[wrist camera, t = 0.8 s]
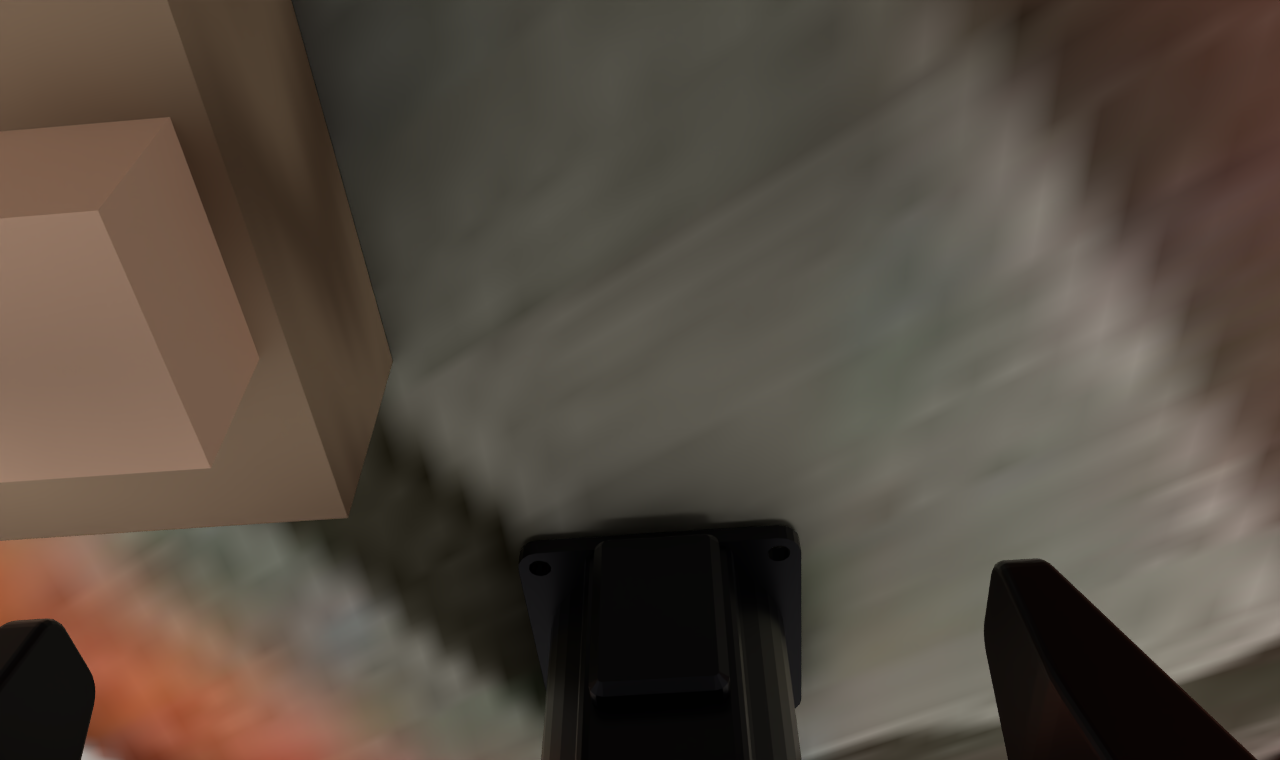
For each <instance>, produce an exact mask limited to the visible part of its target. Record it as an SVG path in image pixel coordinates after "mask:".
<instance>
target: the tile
mask: <svg viewBox="0 0 1280 760" xmlns="http://www.w3.org/2000/svg"><path fill="white" fill-rule="evenodd" d="M259 359H260V358H259V355H258V353H257V350H256V347H255V345H254V342H253V339H252V337H251V334H250V331H249V328H248V326H247V323H246V320H245V318H244V315H243V312H242V310H241V307H240V304H239V302H238V299H237V296H236V293H235V291H234V288H233V285H232V283H231V280H230V277H229V275H228V272H227V269H226V267H225V264H224V261H223V259H222V256H221V253H220V250H219V248H218V245H217V242H216V240H215V237H214V234H213V232H212V229H211V226H210V224H209V221H208V218H207V215H206V213H205V210H204V207H203V205H202V202H201V199H200V197H199V194H198V191H197V189H196V186H195V183H194V180H193V178H192V175H191V172H190V170H189V167H188V164H187V162H186V159H185V156H184V154H183V151H182V148H181V146H180V143H179V140H178V137H177V135H176V132H175V129H174V127H173V124H172V121H171V119H170V117H163V118H152V119H140V120H128V121H117V122H105V123H93V124H82V125H70V126H58V127H47V128H35V129H23V130H12V131H0V483H3V482H17V481H32V480H46V479H61V478H75V477H90V476H105V475H119V474H134V473H148V472H163V471H177V470H192V469H207V468H211V467H212V464H213V462H214V460H215V458H216V455H217V453H218V451H219V449H220V446H221V444H222V442H223V440H224V437H225V435H226V433H227V431H228V428H229V426H230V424H231V422H232V419H233V417H234V415H235V413H236V410H237V408H238V406H239V404H240V401H241V399H242V397H243V395H244V392H245V390H246V388H247V386H248V383H249V381H250V379H251V377H252V374H253V372H254V370H255V368H256V365H257V363H258V361H259Z"/></svg>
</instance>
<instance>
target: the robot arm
mask: <svg viewBox="0 0 1280 760" xmlns="http://www.w3.org/2000/svg"><path fill="white" fill-rule="evenodd" d="M775 546H784V547H781V548H772V547H775ZM535 561H545V562H546V563H537V562H535ZM519 574H520V578H521V583H522V587H523V591H524V596H525V600H526V605H527V609H528V613H529V618H530V622H531V627H532V631H533V635H534V640H535V644H536V649H537V653H538V657H539V662H540V666H541V671H542V675H543V679H544V684H545V688H546V704H545V717H544V730H543V743H542V756H541V760H801V752H800V745H799V737H798V730H797V722H796V714H795V708H796V707H797V706H798V705H799V704H800V702H801V549H800V542H799V537H798V534H797V533H796V532H795V531H794V530H793V529H792V528H789V527H787V526H779V525H774V526H759V527H743V528H728V529H712V530H697V531H681V532H665V533H650V534H634V535H619V536H603V537H587V538H572V539H556V540H541V541H534V542H530V543H528V544H527V545H525V546H524V547H523V548H522V550H521V551H520V559H519ZM984 641H985V649H986V655H987V659H988V664H989V669H990V674H991V679H992V684H993V688H994V693H995V698H996V703H997V708H998V713H999V717H1000V722H1001V727H1002V732H1003V737H1004V742H1005V747H1006V751H1007V756H1008V760H1257V759H1256V758H1255V757H1254V756H1253V755H1252V754H1251V753H1250V752H1248V751H1247V750H1246V749H1245V748H1244V747H1243V746H1242V745H1241V744H1240V743H1239V742H1238V741H1237V740H1236V739H1235V738H1234V737H1233V736H1232V735H1231V734H1229V733H1228V732H1227V731H1226V730H1225V729H1224V728H1223V727H1222V726H1221V725H1220V724H1219V723H1218V722H1217V721H1216V720H1215V719H1214V718H1213V717H1212V716H1210V715H1209V714H1208V713H1207V712H1206V711H1205V710H1204V709H1203V708H1202V707H1201V706H1200V705H1199V704H1198V703H1197V702H1196V701H1195V700H1194V699H1193V698H1191V697H1190V696H1189V695H1188V694H1187V693H1186V692H1185V691H1184V690H1183V689H1182V688H1181V687H1180V686H1179V685H1178V684H1177V683H1176V682H1175V681H1173V680H1172V679H1171V678H1170V677H1169V676H1168V675H1167V674H1166V673H1165V672H1164V671H1163V670H1162V669H1161V668H1160V667H1159V666H1158V665H1157V664H1156V663H1154V662H1153V661H1152V660H1151V659H1150V658H1149V657H1148V656H1147V655H1146V654H1145V653H1144V652H1143V651H1142V650H1141V649H1140V648H1139V647H1138V646H1137V645H1135V644H1134V643H1133V642H1132V641H1131V640H1130V639H1129V638H1128V637H1127V636H1126V635H1125V634H1124V633H1123V632H1122V631H1121V630H1120V629H1119V628H1118V627H1116V626H1115V625H1114V624H1113V623H1112V622H1111V621H1110V620H1109V619H1108V618H1107V617H1106V616H1105V615H1104V614H1103V613H1102V612H1101V611H1100V610H1099V609H1097V608H1096V607H1095V606H1094V605H1093V604H1092V603H1091V602H1090V601H1089V600H1088V599H1087V598H1086V597H1085V596H1084V595H1083V594H1082V593H1081V592H1080V591H1078V590H1077V589H1076V588H1075V587H1074V586H1073V585H1072V584H1071V583H1070V582H1069V581H1068V580H1067V579H1066V578H1065V577H1064V576H1063V575H1062V574H1060V573H1059V572H1058V571H1057V570H1056V569H1055V568H1054V567H1053V566H1052V565H1051V564H1050V563H1048V562H1046V561H1044V560H1042V559H1020V560H1003V561H1000V562H998V563H996V564H995V566H994V568H993V570H992V574H991V580H990V587H989V594H988V601H987V608H986V615H985V621H984ZM94 701H95V684H94V680H93V676H92V674H91V672H90V670H89V668H88V667H87V665H86V663H85V662H84V660H83V658H82V657H81V655H80V653H79V652H78V650H77V648H76V647H75V645H74V643H73V641H72V640H71V638H70V636H69V635H68V633H67V631H66V630H65V628H64V627H63V626H62V624H60V623H59V622H57V621H55V620H54V619H33V620H17V621H12V622H8V623H6V624H4V625H2V626H1V627H0V760H81V757H82V753H83V749H84V744H85V740H86V736H87V732H88V728H89V723H90V719H91V715H92V711H93V707H94Z"/></svg>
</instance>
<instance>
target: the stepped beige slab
mask: <svg viewBox="0 0 1280 760" xmlns="http://www.w3.org/2000/svg"><path fill="white" fill-rule="evenodd" d="M163 117H170V119H171V121H172V124H173V127H174V129H175V132H176V135H177V137H178V140H179V143H180V146H181V148H182V151H183V154H184V156H185V159H186V162H187V164H188V167H189V170H190V172H191V175H192V178H193V180H194V183H195V186H196V189H197V191H198V194H199V197H200V199H201V202H202V205H203V207H204V210H205V213H206V215H207V218H208V221H209V224H210V226H211V229H212V232H213V234H214V237H215V240H216V242H217V245H218V248H219V250H220V253H221V256H222V259H223V261H224V264H225V267H226V269H227V272H228V275H229V277H230V280H231V283H232V285H233V288H234V291H235V293H236V296H237V299H238V302H239V304H240V307H241V310H242V312H243V315H244V318H245V320H246V323H247V326H248V328H249V331H250V334H251V337H252V339H253V342H254V345H255V347H256V350H257V353H258V355H259V358H260V359H259V361H258V363H257V365H256V368H255V370H254V372H253V374H252V377H251V379H250V381H249V383H248V386H247V388H246V390H245V392H244V395H243V397H242V399H241V401H240V404H239V406H238V408H237V410H236V413H235V415H234V417H233V419H232V422H231V424H230V426H229V428H228V431H227V433H226V435H225V437H224V440H223V442H222V444H221V446H220V449H219V451H218V453H217V455H216V458H215V460H214V462H213V464H212V467H211V468H207V469H192V470H177V471H163V472H148V473H134V474H119V475H105V476H90V477H75V478H61V479H46V480H32V481H17V482H3V483H0V541H3V540H19V539H34V538H49V537H64V536H79V535H95V534H110V533H125V532H140V531H155V530H171V529H186V528H201V527H216V526H231V525H247V524H262V523H277V522H292V521H307V520H323V519H338V518H348V516H349V512H350V509H351V505H352V502H353V498H354V495H355V492H356V488H357V485H358V481H359V478H360V474H361V471H362V467H363V464H364V460H365V457H366V453H367V450H368V446H369V443H370V439H371V436H372V432H373V429H374V425H375V422H376V418H377V415H378V411H379V408H380V404H381V401H382V397H383V394H384V390H385V387H386V383H387V380H388V376H389V373H390V369H391V366H392V362H393V360H392V357H391V353H390V350H389V346H388V343H387V339H386V335H385V332H384V328H383V325H382V321H381V318H380V314H379V311H378V307H377V303H376V300H375V296H374V293H373V289H372V286H371V282H370V278H369V275H368V271H367V268H366V264H365V261H364V257H363V254H362V250H361V246H360V243H359V239H358V236H357V232H356V229H355V225H354V222H353V218H352V214H351V211H350V207H349V204H348V200H347V197H346V193H345V190H344V186H343V182H342V179H341V175H340V172H339V168H338V165H337V161H336V158H335V154H334V150H333V147H332V143H331V140H330V136H329V133H328V129H327V125H326V122H325V118H324V115H323V111H322V108H321V104H320V101H319V97H318V93H317V90H316V86H315V83H314V79H313V76H312V72H311V69H310V65H309V61H308V58H307V54H306V51H305V47H304V44H303V40H302V37H301V33H300V29H299V26H298V22H297V19H296V15H295V12H294V8H293V5H292V1H291V0H0V131H12V130H23V129H35V128H47V127H58V126H70V125H82V124H93V123H105V122H117V121H128V120H140V119H152V118H163Z"/></svg>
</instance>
